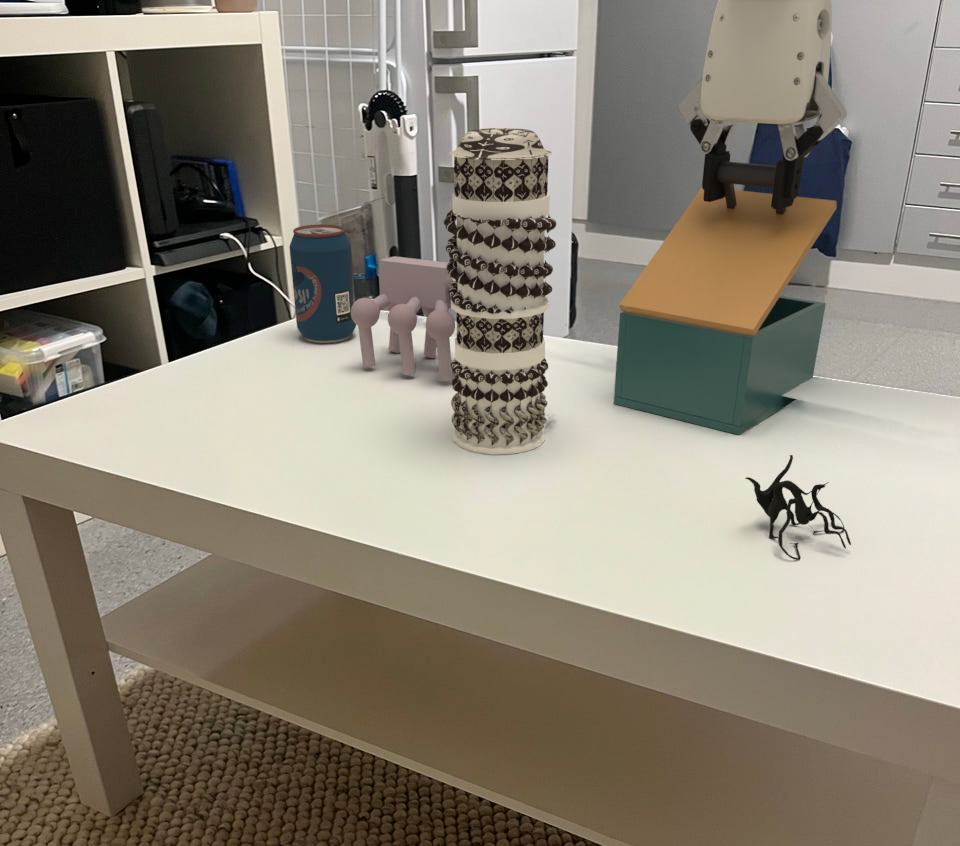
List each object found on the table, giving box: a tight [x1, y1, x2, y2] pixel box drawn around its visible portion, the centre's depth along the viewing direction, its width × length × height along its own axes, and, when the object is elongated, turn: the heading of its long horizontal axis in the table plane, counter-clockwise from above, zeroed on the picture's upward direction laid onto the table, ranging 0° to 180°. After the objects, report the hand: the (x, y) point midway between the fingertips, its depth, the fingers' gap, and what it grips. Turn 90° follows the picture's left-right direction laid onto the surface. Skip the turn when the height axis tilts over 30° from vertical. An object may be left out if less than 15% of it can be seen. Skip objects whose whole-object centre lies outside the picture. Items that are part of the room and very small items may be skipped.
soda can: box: [288, 224, 357, 344], centre depth 117 cm, size 7×7×12 cm
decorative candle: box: [443, 127, 557, 455], centre depth 85 cm, size 9×9×25 cm
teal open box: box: [613, 295, 827, 435], centre depth 99 cm, size 16×14×9 cm
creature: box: [744, 454, 852, 561], centre depth 73 cm, size 8×5×8 cm
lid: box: [619, 161, 838, 336], centre depth 92 cm, size 16×14×5 cm
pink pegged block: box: [351, 255, 456, 382], centre depth 105 cm, size 20×11×14 cm, turn 62°
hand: (747, 201), depth 93 cm, fingers closed on lid, 6 cm apart
